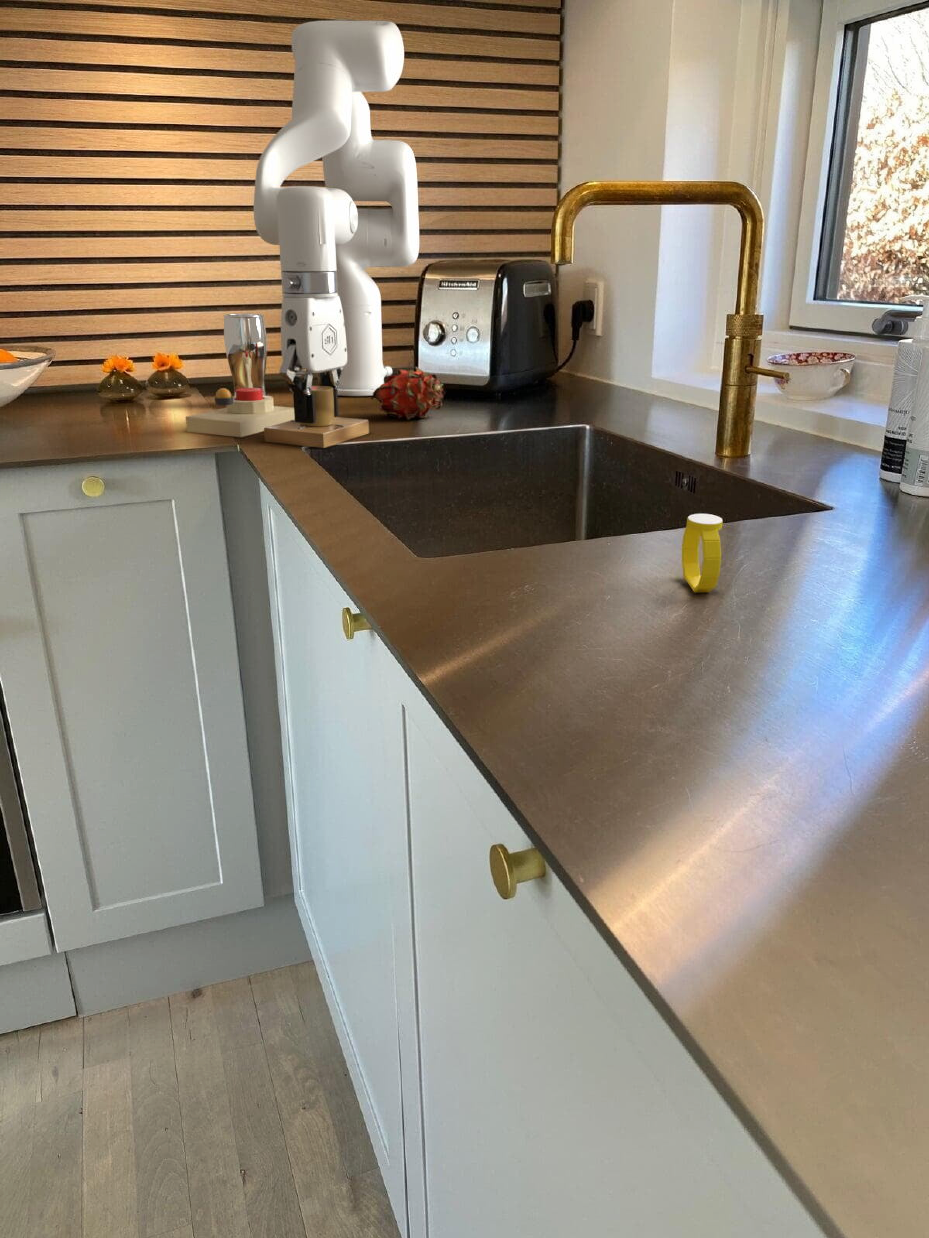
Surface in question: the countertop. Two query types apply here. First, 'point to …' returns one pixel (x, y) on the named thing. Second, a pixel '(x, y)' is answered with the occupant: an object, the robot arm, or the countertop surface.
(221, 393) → the lamp
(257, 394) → the light button
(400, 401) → the dragon fruit
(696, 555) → the watch
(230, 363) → the beer glass
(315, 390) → the dimmer knob
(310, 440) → the dimmer panel
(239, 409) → the switch block
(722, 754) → the countertop surface
